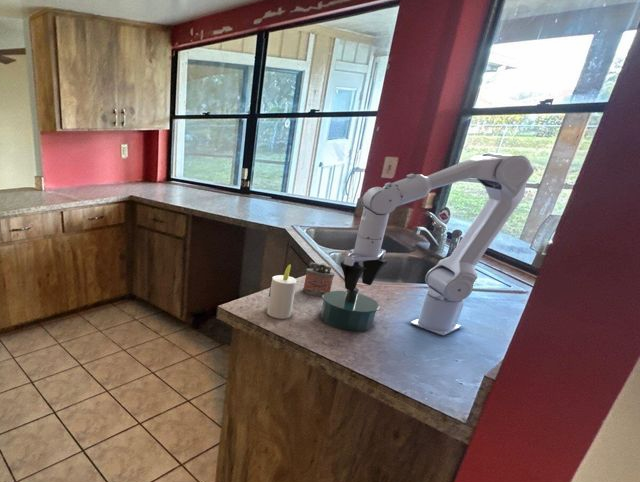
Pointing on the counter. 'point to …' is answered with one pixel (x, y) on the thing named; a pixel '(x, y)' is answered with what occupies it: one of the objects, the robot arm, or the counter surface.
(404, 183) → the robot arm
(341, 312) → the pot
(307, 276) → the brick planter box
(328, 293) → the cover
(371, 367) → the counter surface
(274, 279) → the candle
